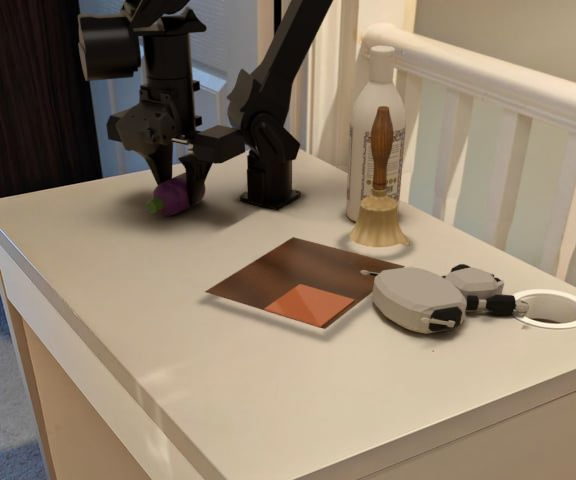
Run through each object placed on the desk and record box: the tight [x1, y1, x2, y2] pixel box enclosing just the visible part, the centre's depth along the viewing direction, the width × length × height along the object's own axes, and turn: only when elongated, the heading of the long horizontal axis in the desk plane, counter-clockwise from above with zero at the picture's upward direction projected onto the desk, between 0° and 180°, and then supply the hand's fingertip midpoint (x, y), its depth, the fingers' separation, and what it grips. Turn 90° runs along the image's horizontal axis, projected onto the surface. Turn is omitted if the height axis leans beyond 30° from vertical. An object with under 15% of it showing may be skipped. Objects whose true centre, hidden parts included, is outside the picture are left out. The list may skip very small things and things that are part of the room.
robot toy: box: [360, 263, 530, 335], centre depth 88 cm, size 12×4×15 cm
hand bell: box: [348, 106, 410, 248], centre depth 98 cm, size 8×8×16 cm
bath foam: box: [345, 45, 407, 223], centre depth 104 cm, size 7×7×20 cm
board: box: [204, 236, 405, 330], centre depth 94 cm, size 18×16×1 cm
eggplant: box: [146, 171, 206, 216], centre depth 111 cm, size 10×4×4 cm, turn 147°
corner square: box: [264, 284, 355, 328], centre depth 88 cm, size 7×7×1 cm
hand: (180, 201), depth 112 cm, fingers closed on eggplant, 4 cm apart
